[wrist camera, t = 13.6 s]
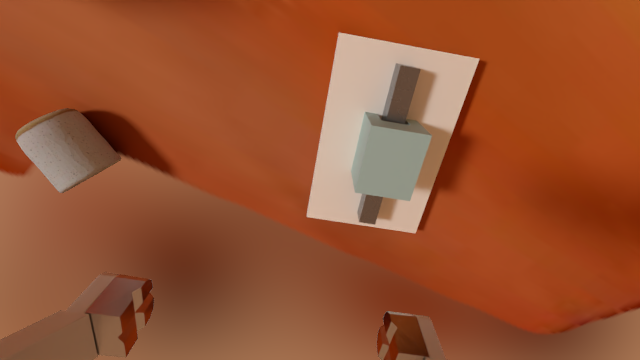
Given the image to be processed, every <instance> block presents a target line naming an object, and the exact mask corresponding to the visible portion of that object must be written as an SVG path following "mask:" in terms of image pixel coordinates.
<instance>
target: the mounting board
mask: <svg viewBox="0 0 640 360" xmlns="http://www.w3.org/2000/svg"><path fill="white" fill-rule="evenodd" d="M478 62H479V59H477V58H472V57H467V56H461V55H456V54H451V53H445V52H440V51H435V50H429V49H424V48H419V47H413V46H408V45H403V44H397V43H392V42H387V41H381V40H376V39H371V38H366V37H360V36H355V35H350V34H344V33H339V34H338V40H337V45H336V51H335V57H334V62H333V68H332V74H331V79H330V85H329V91H328V96H327V102H326V108H325V113H324V119H323V125H322V130H321V136H320V142H319V147H318V153H317V159H316V164H315V170H314V176H313V181H312V187H311V193H310V198H309V204H308V210H307V217H311V218H317V219H324V220H331V221H337V222H344V223H350V224H357V225H364V226H370V227H377V228H384V229H390V230H397V231H403V232H410V233H416V231H417V228H418V225H419V223H420V220H421V217H422V214H423V212H424V209H425V206H426V203H427V201H428V198H429V195H430V193H431V190H432V187H433V184H434V182H435V179H436V176H437V174H438V171H439V168H440V165H441V163H442V160H443V157H444V154H445V152H446V149H447V146H448V144H449V141H450V138H451V135H452V133H453V130H454V127H455V125H456V122H457V119H458V116H459V114H460V111H461V108H462V105H463V103H464V100H465V97H466V95H467V92H468V89H469V86H470V84H471V81H472V78H473V76H474V73H475V70H476V67H477V65H478ZM396 63H398V64H403V65H409V66H414V67H417V68H419V69H421V70H420V74H419V77H418V80H417V84H416V87H415V91H414V94H413V97H412V101H411V104H410V108H409V111H408V114H407V118H406V119H410V120H416V121H418V122H419V123H420V124H421V125H422V126H423V127H424V128H425V129H426V130H427V131H428V132H429V133H430V134H431V135H432V138H431V141H430V144H429V146H428V149H427V152H426V155H425V158H424V161H423V164H422V167H421V170H420V173H419V176H418V179H417V182H416V185H415V188H414V191H413V194H412V197H411V200H410V201H405V200H399V199H393V198H386V197H383V199H382V203H381V206H380V210H379V213H378V216H377V220H376V223H375V225H374V224H368V223H361V222H359V219H358V214H357V211H358V207H359V204H360V200H361V196H362V194H361V193H355V190H354V185H353V179H352V174H351V169H352V165H353V160H354V156H355V152H356V148H357V143H358V139H359V135H360V130H361V126H362V122H363V117H364V113H365V112H369V113H375V114H378V116H379V117H380V119H382V115H383V111H384V107H385V103H386V99H387V95H388V92H389V88H390V84H391V80H392V76H393V72H394V68H395V64H396Z"/></svg>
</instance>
